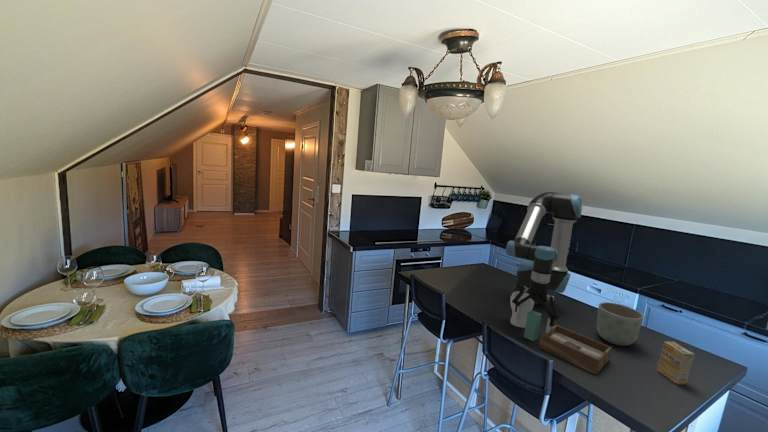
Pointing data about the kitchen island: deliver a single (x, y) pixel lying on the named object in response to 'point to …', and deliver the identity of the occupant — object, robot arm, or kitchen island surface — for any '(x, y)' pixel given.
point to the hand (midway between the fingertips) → (532, 325)
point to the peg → (532, 325)
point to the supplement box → (675, 362)
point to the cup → (525, 309)
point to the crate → (576, 348)
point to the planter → (618, 323)
